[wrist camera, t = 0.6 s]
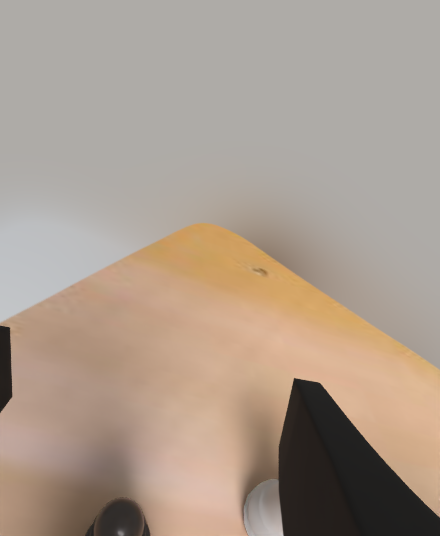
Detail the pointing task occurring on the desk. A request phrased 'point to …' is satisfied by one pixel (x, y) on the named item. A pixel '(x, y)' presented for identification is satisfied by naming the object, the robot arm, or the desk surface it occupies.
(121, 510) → the ebony pawn
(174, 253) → the desk surface
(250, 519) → the rook chess piece
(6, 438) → the desk surface
